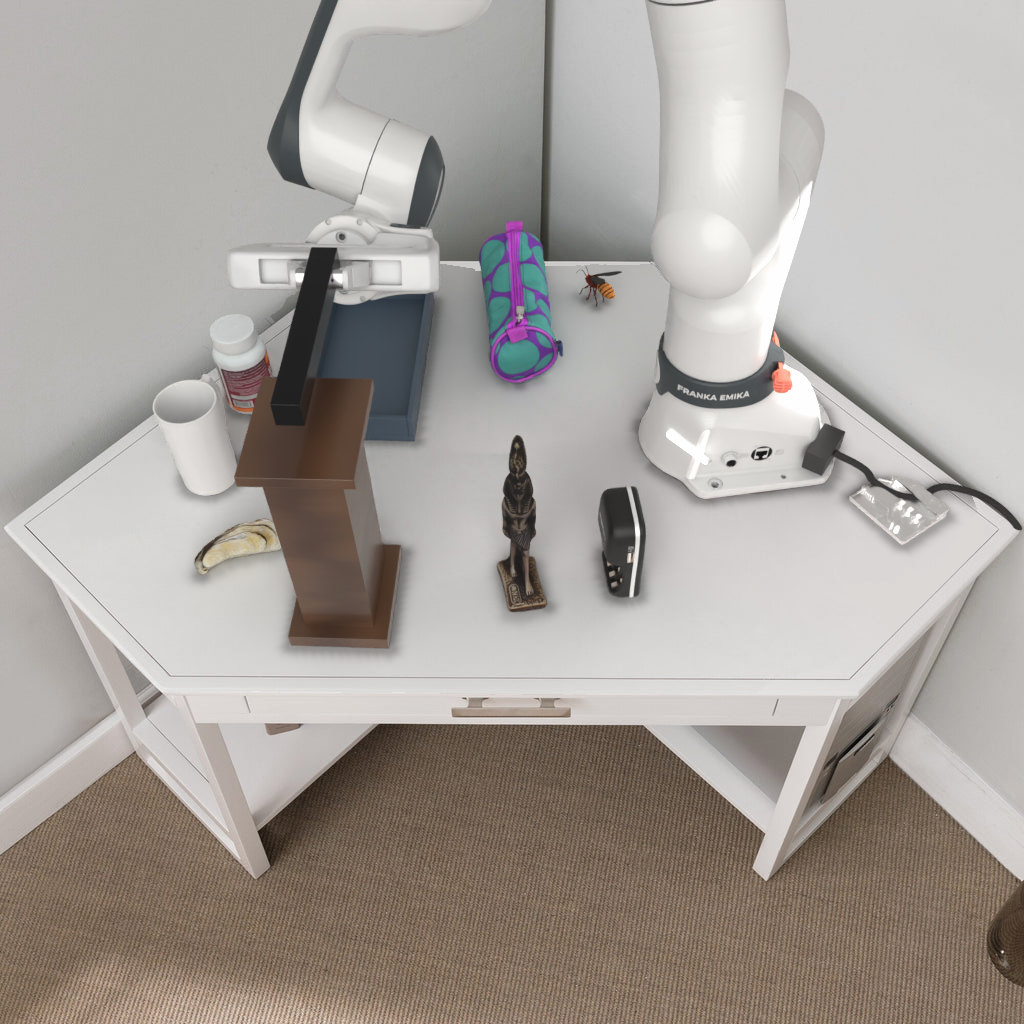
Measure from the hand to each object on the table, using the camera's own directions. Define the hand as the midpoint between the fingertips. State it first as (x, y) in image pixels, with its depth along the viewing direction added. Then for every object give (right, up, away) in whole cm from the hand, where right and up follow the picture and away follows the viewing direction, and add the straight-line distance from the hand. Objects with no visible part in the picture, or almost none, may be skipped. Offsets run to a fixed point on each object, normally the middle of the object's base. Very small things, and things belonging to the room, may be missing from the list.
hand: (319, 280), depth 95 cm
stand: (0, -30, +17) cm, 34 cm away
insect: (+28, +7, +46) cm, 54 cm away
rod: (0, -6, -3) cm, 7 cm away
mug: (-17, -15, +29) cm, 37 cm away
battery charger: (+28, -27, +18) cm, 43 cm away
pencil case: (+18, +2, +42) cm, 46 cm away
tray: (0, -2, +39) cm, 39 cm away
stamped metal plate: (+60, -20, +23) cm, 67 cm away
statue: (+18, -29, +17) cm, 38 cm away
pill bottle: (-15, -7, +36) cm, 39 cm away
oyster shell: (-12, -26, +20) cm, 35 cm away
